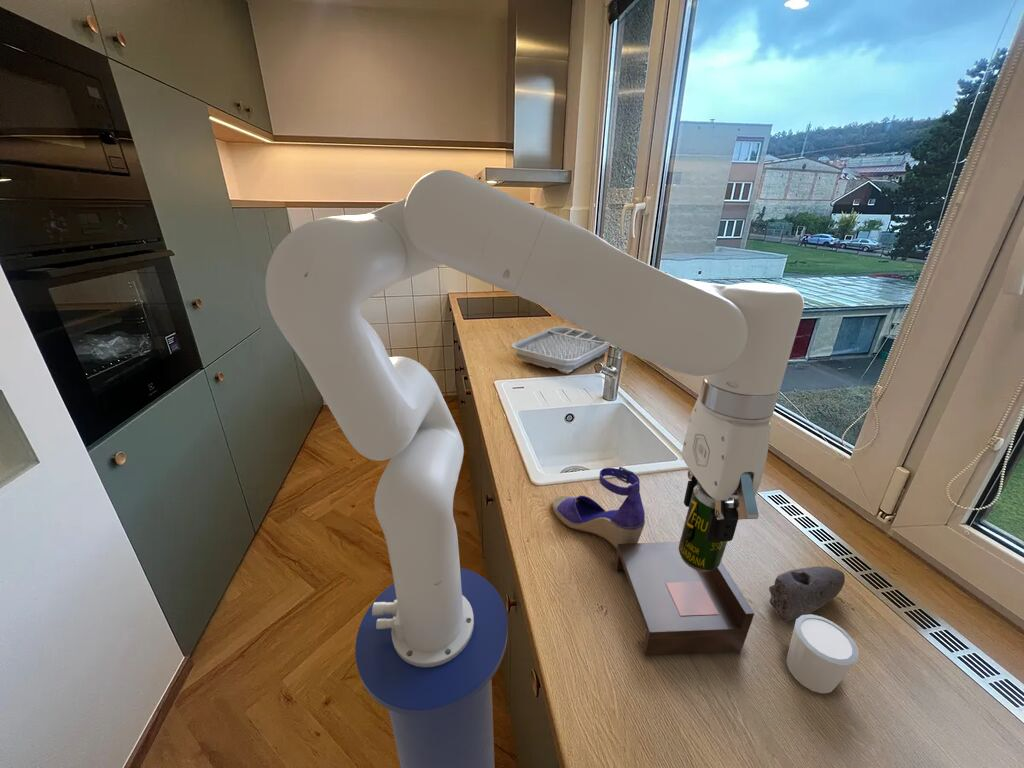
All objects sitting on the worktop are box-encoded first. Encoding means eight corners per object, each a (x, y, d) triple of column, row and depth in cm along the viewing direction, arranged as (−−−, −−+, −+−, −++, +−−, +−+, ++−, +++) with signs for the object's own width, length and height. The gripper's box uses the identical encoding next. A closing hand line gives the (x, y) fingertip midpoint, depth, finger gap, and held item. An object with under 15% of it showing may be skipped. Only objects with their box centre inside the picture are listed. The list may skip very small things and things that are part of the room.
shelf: (645, 656, 58) (652, 617, 55) (614, 564, 73) (619, 530, 70) (741, 651, 59) (754, 613, 55) (692, 562, 73) (700, 527, 70)
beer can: (690, 536, 60) (708, 470, 55) (726, 559, 56) (750, 491, 51) (669, 554, 57) (686, 486, 51) (706, 581, 53) (729, 511, 48)
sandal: (574, 493, 91) (579, 435, 84) (646, 552, 75) (658, 486, 69) (545, 507, 86) (548, 447, 80) (614, 572, 71) (624, 504, 65)
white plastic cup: (779, 638, 60) (792, 605, 58) (836, 660, 58) (853, 627, 55) (782, 682, 55) (797, 648, 52) (845, 709, 52) (865, 675, 49)
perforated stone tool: (821, 579, 70) (834, 548, 67) (852, 605, 65) (868, 573, 63) (752, 603, 66) (763, 571, 63) (781, 633, 61) (794, 600, 58)
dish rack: (504, 362, 166) (504, 343, 162) (556, 340, 191) (557, 324, 188) (570, 382, 147) (572, 361, 144) (618, 355, 172) (620, 337, 169)
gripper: (673, 369, 54) (654, 481, 61) (746, 437, 38) (709, 577, 45) (729, 368, 54) (704, 480, 61) (825, 435, 38) (775, 575, 46)
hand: (706, 520), depth 53 cm, fingers closed on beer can, 5 cm apart
